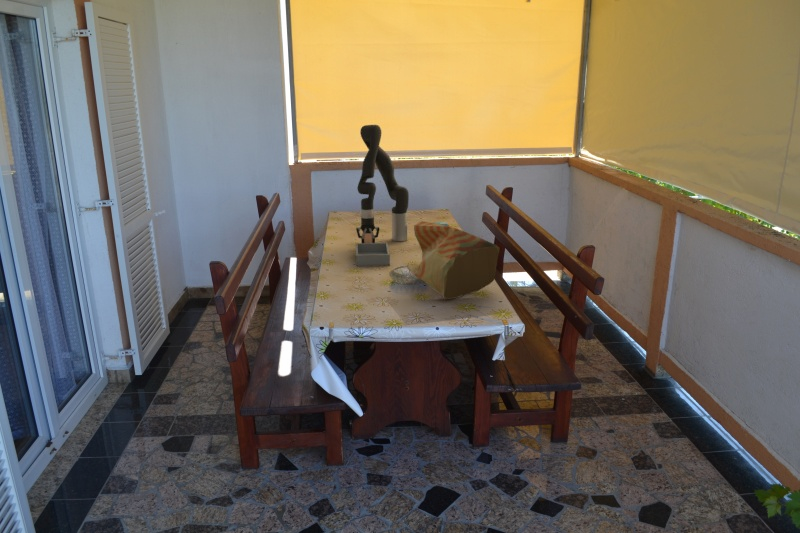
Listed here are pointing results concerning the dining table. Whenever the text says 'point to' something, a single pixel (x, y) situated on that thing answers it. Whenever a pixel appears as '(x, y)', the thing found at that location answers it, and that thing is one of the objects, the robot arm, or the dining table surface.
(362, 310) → the dining table surface
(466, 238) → the shopping bag
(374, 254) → the tote
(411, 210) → the dining table surface
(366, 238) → the jar
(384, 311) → the dining table surface
